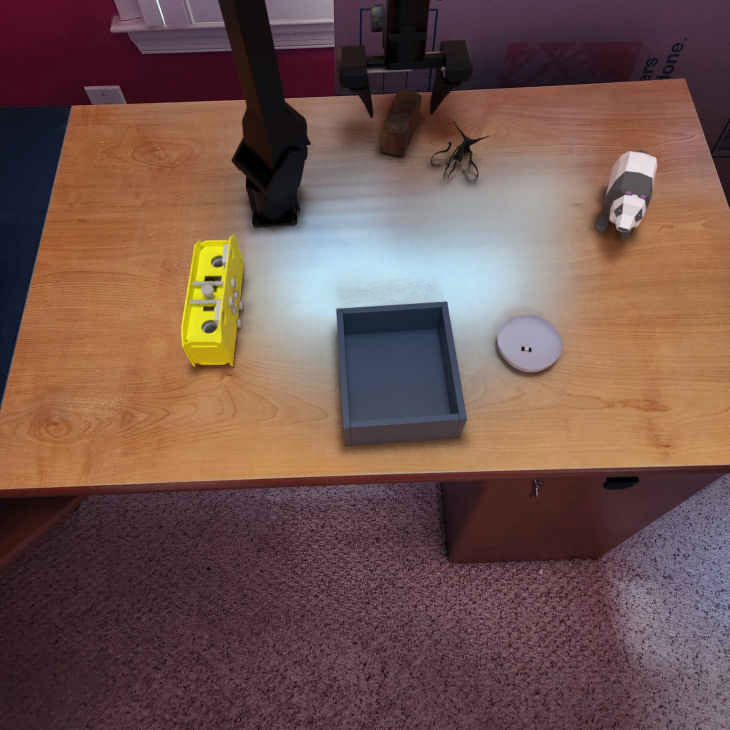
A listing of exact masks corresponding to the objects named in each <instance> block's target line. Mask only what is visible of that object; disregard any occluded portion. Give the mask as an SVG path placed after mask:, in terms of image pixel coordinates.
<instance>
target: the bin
mask: <svg viewBox="0 0 730 730" xmlns="http://www.w3.org/2000/svg"><path fill="white" fill-rule="evenodd" d="M449 309H450V308H449V303H448V301H433V302H431V301H430V302H417V303H416V302H415V303H402V304H401V303H399V304H384V305H383V304H382V305H369V306H356V307H355V306H354V307H339V308H338V307H337V308H336V309H335V315H336V330H337V331H336V332H337V333H336V334H337V346H338V347H337V350H338V367H339V382H340V385H339V386H340V400H341V401H340V402H341V419H342V433H343V441H344V446H346V447H347V446H360V445H375V444H386V443H387V444H388V443H401V442H402V443H403V442H417V441H429V440H445V439H459V438H461V436H462V433H463V431H464V428H465V425H466V423H467V421H468V417H467V411H466V405H465V399H464V392H463V386H462V381H461V374H460V369H459V363H458V357H457V351H456V346H455V345H456V344H455V339H454V333H453V326H452V321H451V314H450V310H449Z"/></svg>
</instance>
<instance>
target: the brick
mask: <svg viewBox="0 0 730 730" xmlns="http://www.w3.org/2000/svg"><path fill="white" fill-rule="evenodd" d="M395 93H396V94H395V96H394V98H393V100H392V102H391V105H390V107H389V109H388V112H387V114H386V117H385V119H384V122H383V124H382V126H381V131H380V153H381V154H387V155H391V156H396V157H402V156H403V155H404V154H405V152H406V151H407V147H408V145H409V144H410V141H411V139H412V136H413V133H414V130H415V128H416V126H417V123H418V120H419V118H420V115H421V114H420V113H421V109H422V95H421V94H420V93H419V92H416V91H414V90H411V89H403V90H402V89H400V90H397V92H395Z"/></svg>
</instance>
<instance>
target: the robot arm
mask: <svg viewBox="0 0 730 730" xmlns="http://www.w3.org/2000/svg"><path fill="white" fill-rule="evenodd" d="M437 1H438V2H439V1H441V0H437ZM217 2H218V6H219V10H220V12H221V16H222V19H223V24H224V27H225V31H226V35H227V38H228V42H229V46H230V49H231V53H232V58H233V61H234V64H235V68H236V72H237V76H238V79H239V83H240V86H241V90H242V93H243V98H244V101H245V106H246V109H245V111H244V114H243V116H242V119H241V127H242V138H241V140H240V142H239V144H238V146H237V148H236V150H235V152H234V154H233V156H232V158H231V163H232V165H234V166H235V167H236V169H237V170H238V171H239V172H241V173H242V174H243V175H244V176H245V190H246V194H247V199H248V202H249V206H250V209H251V224H252V225H251V226H252V227H254V228H265V227H266V228H267V227H281V226H296V225H297V224H298V213H299V212H300V211H301V197H300V190H299V188H300V187H301V184H302V178H303V173H304V169H305V164H306V161H307V159H308V155H309V148H308V146H311V145H312V142H311V141H310V139H309V137H308V123H307V119H306V118H305V116H303V115H302V114H301V113H300V112H299V111H298V110H296V109H295V108H294V107H293V106H292V105H291V104H289V103H288V102H287V101H286V98H285V94H284V93H285V92H284V88H283V83H282V78H281V73H280V68H279V62H278V58H277V53H276V49H275V47H276V46H275V44H274V37H273V33H272V27H271V24H270V23H271V22H270V18H269V13H268V8H267V3H266V0H217ZM384 2H385V5H384V4H382V3H379V4H378V3H377V4H370V6H369V7H370V8H369V11H370V12H369V21H370V22H369V23H370V31H371V33H381V46H382V50H383V54H384V55H370V56H369V55H368V56H367V54H366V47H365V44H361V45H359V44H357V45H342V46H340V47H339V48H338V50H337V51H336V56H337V57H336V58H337V72H338V84H339V85H338V86H339V87H340V88H342V89H348V91H349V92H350V93H356V95H357V96H358V97H359V99H360V100H361V101H362V103H363V105H364V107H365V109H366V112H367V113H368V116H369V118H370V119H374V106H373V98H372V91H371V85H370V78H369V74H383V73H401V72H402V73H403V72H413V70H430V69H431V70H432V69H435V73H434V74H435V76H434V79H433V84H432V90H431V95H430V99H429V109H428V110H429V115H430V116H433V115H434V114H435V112H436V111H437V109H438V108H439V107H440V105H441V104H442V102H443V101H444V100H445V99H446V98H447V96H448V95H449V94H450V93H451V92H452V91H453V90H454V88H458V87H461V86H462V83H467V82H470V81H471V80H472V77H473V71H474V60H473V56H472V51H471V48H470V44H469V43H468V41H467V40H466V39H458V40H457V39H454V40H441V41H440V43H439V51H428V52H426V51H427V40H428V31H429V30H428V27H429V17H430V9H431V8H430V6H431V0H385V1H384Z"/></svg>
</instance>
